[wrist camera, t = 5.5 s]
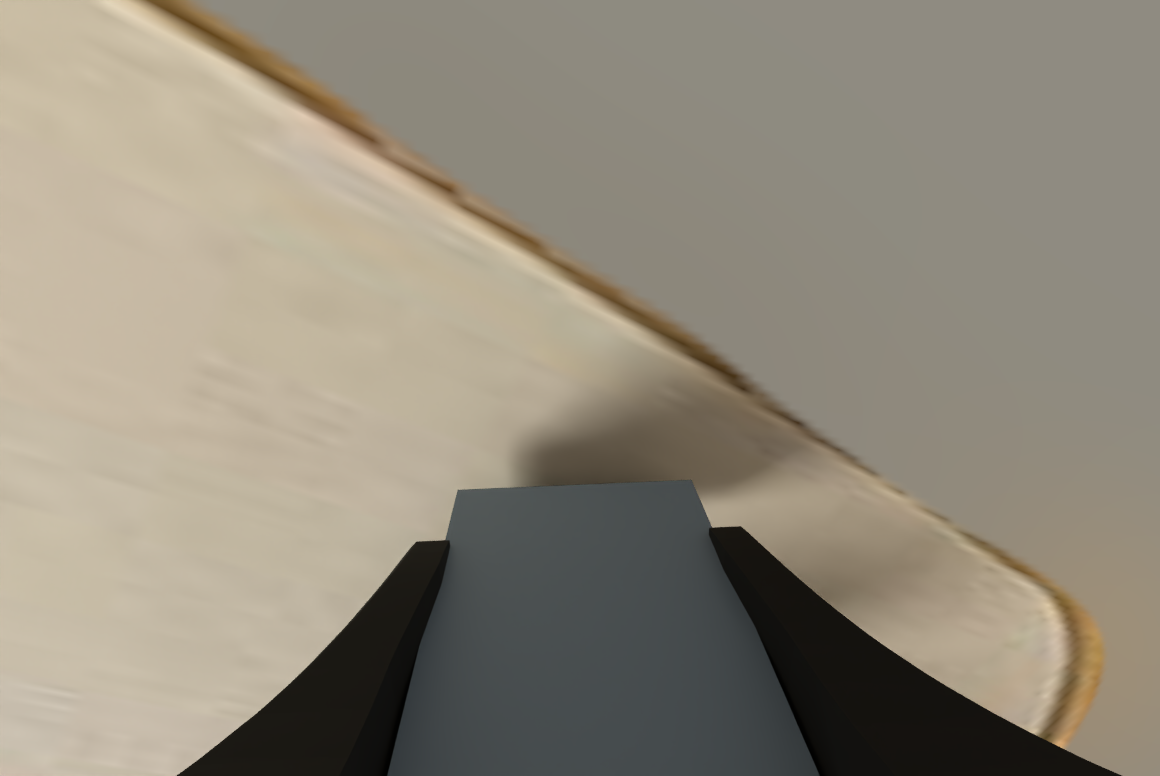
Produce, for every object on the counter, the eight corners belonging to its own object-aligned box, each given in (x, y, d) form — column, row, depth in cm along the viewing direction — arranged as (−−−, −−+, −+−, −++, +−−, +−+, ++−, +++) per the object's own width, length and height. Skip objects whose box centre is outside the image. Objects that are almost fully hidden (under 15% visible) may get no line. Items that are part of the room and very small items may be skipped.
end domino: (687, 541, 14) (816, 901, 7) (464, 552, 13) (390, 932, 7) (691, 479, 13) (835, 813, 7) (457, 489, 13) (370, 844, 6)
